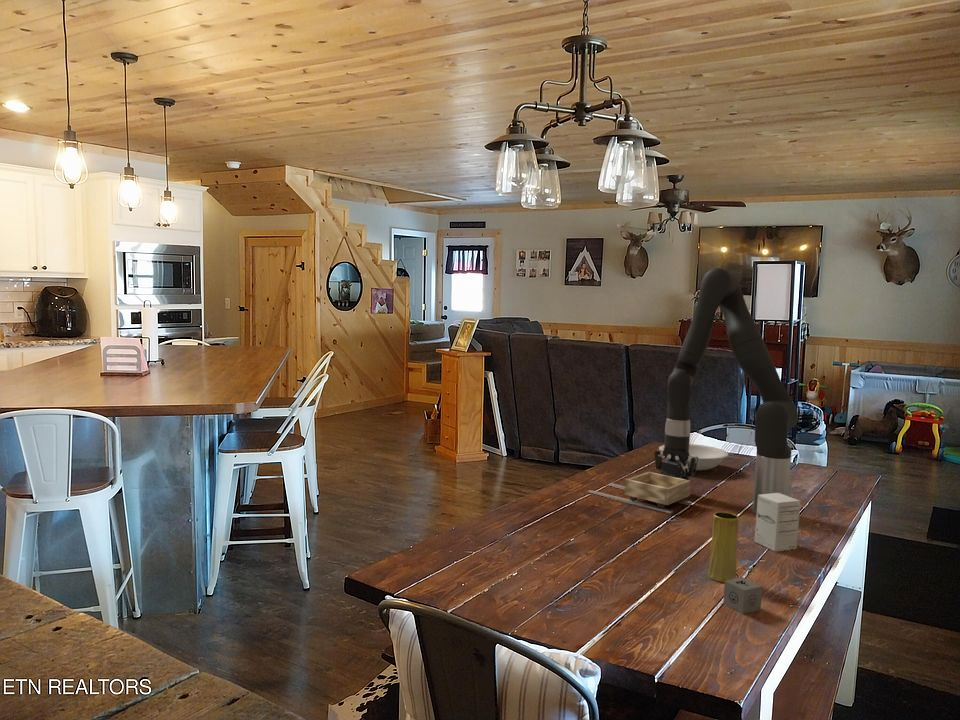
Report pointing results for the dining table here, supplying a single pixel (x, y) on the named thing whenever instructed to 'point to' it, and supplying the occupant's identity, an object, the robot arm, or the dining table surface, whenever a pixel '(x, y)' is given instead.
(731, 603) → the grey cube
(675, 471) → the box
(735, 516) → the vase
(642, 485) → the light wooden open box
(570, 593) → the dining table surface
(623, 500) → the rails
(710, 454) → the soup bowl
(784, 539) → the supplement box
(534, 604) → the dining table surface
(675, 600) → the dining table surface
